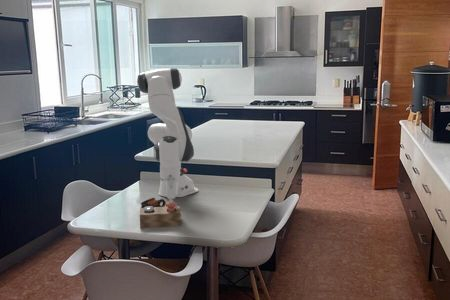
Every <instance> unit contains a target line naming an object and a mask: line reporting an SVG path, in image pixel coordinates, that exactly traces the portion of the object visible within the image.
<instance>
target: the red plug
mask: <svg viewBox="0 0 450 300" xmlns="http://www.w3.org/2000/svg"><path fill="white" fill-rule="evenodd" d="M165 202H166V204H165V207H168V211H175V206H177V201H174V200H173V203H172V204H169V201H165Z"/></svg>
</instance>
